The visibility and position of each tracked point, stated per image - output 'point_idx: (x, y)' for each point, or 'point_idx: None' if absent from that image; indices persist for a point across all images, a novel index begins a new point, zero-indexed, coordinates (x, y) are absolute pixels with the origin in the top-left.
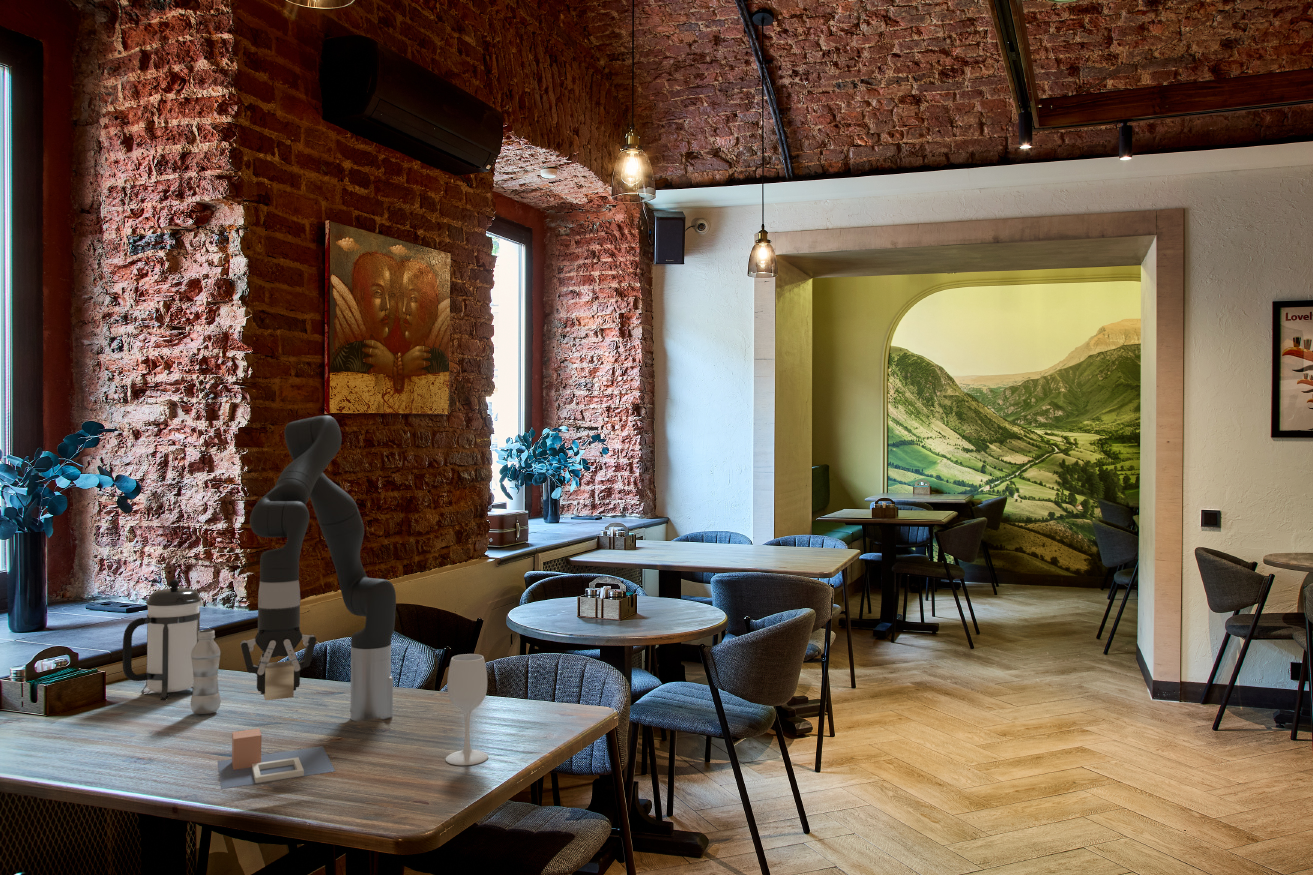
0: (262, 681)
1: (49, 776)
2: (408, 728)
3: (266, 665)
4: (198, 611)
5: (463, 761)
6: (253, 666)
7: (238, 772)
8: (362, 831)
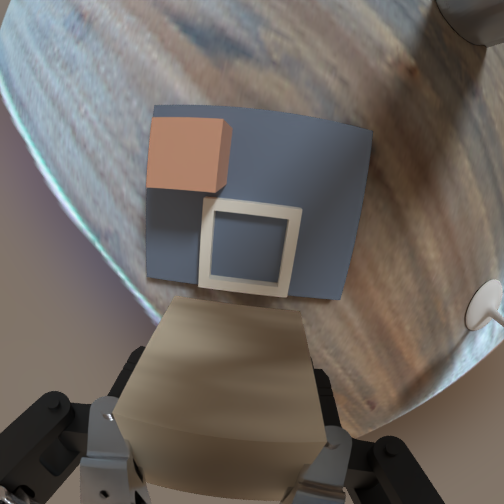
0: None
1: (5, 69)
2: (498, 114)
3: (143, 479)
4: None
5: (472, 326)
6: (80, 450)
7: (179, 202)
8: None
